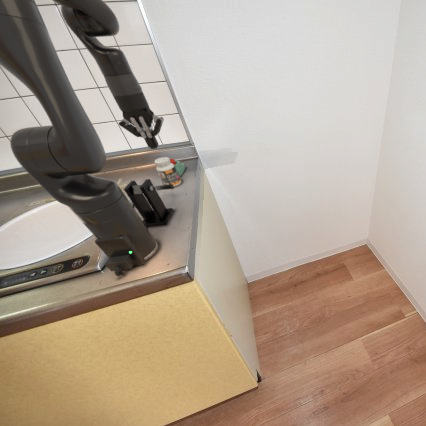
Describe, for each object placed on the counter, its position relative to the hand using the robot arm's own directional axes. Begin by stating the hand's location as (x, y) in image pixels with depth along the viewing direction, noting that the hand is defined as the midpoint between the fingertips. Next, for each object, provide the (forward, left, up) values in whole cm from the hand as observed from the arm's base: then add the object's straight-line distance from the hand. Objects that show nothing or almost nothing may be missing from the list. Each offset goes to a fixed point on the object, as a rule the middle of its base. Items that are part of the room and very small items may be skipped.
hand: (154, 147), depth 80 cm
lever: (-16, -2, -7) cm, 18 cm away
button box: (+9, +2, -14) cm, 17 cm away
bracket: (-21, -2, -14) cm, 26 cm away
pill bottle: (0, 0, -15) cm, 15 cm away
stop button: (+9, +2, -11) cm, 14 cm away
